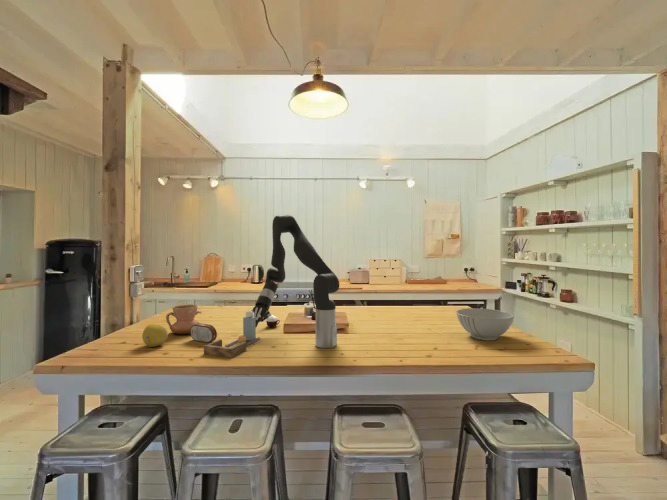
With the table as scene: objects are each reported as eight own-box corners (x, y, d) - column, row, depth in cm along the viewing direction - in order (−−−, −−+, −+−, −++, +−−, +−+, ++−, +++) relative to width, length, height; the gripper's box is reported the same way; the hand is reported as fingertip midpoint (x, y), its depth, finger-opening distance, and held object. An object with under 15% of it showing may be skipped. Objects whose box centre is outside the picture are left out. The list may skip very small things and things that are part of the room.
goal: (245, 350, 156) (245, 342, 156) (231, 357, 146) (231, 349, 146) (219, 346, 160) (219, 339, 160) (203, 353, 150) (203, 345, 150)
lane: (259, 339, 173) (259, 337, 173) (240, 349, 157) (240, 347, 157) (245, 337, 175) (245, 335, 175) (224, 347, 159) (224, 345, 159)
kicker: (255, 339, 172) (255, 309, 172) (251, 341, 169) (251, 311, 168) (247, 338, 174) (246, 309, 173) (242, 340, 170) (242, 310, 170)
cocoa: (279, 325, 202) (280, 305, 202) (279, 328, 196) (280, 306, 196) (262, 325, 201) (263, 304, 201) (261, 327, 194) (262, 306, 195)
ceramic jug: (205, 328, 193) (204, 303, 193) (199, 335, 179) (198, 307, 179) (171, 330, 191) (170, 304, 191) (162, 337, 176) (161, 309, 176)
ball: (247, 343, 166) (247, 334, 166) (243, 345, 162) (243, 336, 162) (240, 342, 167) (240, 334, 167) (235, 344, 164) (235, 336, 164)
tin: (217, 342, 167) (217, 325, 167) (212, 344, 164) (212, 326, 164) (194, 338, 174) (193, 321, 173) (189, 340, 171) (188, 323, 171)
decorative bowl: (454, 341, 171) (454, 316, 170) (457, 328, 195) (457, 306, 195) (516, 347, 160) (516, 321, 160) (511, 333, 185) (511, 310, 185)
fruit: (162, 348, 157) (162, 326, 157) (137, 349, 156) (137, 327, 156) (171, 342, 167) (171, 321, 167) (148, 342, 167) (148, 321, 166)
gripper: (251, 294, 185) (238, 322, 173) (274, 295, 181) (261, 324, 169) (257, 302, 190) (244, 330, 179) (278, 304, 186) (267, 332, 174)
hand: (252, 327), depth 174 cm, fingers closed
